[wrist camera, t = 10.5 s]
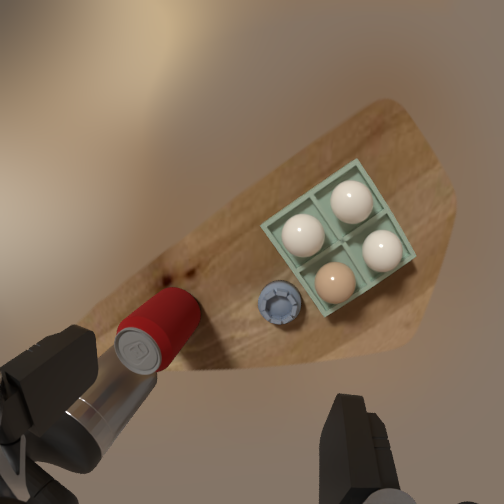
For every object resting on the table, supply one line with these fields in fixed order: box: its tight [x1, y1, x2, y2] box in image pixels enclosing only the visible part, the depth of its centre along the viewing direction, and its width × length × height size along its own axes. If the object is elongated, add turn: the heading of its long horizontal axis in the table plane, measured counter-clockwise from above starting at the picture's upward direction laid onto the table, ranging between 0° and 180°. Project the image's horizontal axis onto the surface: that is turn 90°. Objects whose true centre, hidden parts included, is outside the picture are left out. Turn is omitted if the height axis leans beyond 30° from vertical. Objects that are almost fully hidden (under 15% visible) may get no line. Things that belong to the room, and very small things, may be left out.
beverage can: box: [114, 287, 201, 375], centre depth 34 cm, size 7×7×12 cm
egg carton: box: [260, 159, 416, 317], centre depth 33 cm, size 12×12×3 cm
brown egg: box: [314, 262, 356, 304], centre depth 32 cm, size 4×4×4 cm
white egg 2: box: [330, 180, 373, 224], centre depth 30 cm, size 4×4×4 cm
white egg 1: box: [281, 214, 325, 257], centre depth 31 cm, size 4×4×4 cm
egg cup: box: [258, 280, 301, 325], centre depth 36 cm, size 5×5×3 cm
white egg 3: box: [362, 230, 403, 272], centre depth 30 cm, size 4×4×4 cm
